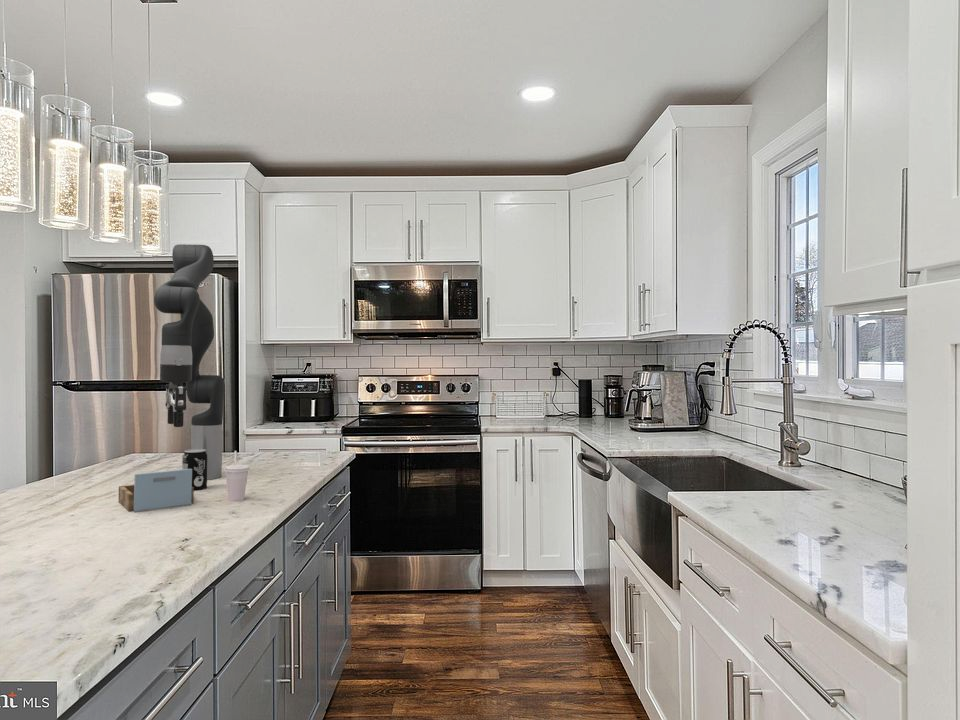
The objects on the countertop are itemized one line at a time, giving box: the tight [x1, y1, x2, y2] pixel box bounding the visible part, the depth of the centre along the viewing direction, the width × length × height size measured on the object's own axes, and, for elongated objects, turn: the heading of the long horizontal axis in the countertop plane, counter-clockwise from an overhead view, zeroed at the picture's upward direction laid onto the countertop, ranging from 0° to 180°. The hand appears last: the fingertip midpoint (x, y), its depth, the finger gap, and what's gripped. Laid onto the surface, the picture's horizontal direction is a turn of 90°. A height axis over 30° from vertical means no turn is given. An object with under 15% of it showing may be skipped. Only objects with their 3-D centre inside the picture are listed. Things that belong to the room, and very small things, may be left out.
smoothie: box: [223, 450, 250, 502], centre depth 168 cm, size 6×6×14 cm
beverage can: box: [181, 448, 208, 492], centre depth 181 cm, size 7×7×12 cm
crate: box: [118, 484, 195, 513], centre depth 163 cm, size 13×15×5 cm
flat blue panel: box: [133, 468, 192, 513], centre depth 157 cm, size 1×13×10 cm, turn 130°
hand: (175, 425), depth 162 cm, fingers open, 8 cm apart
